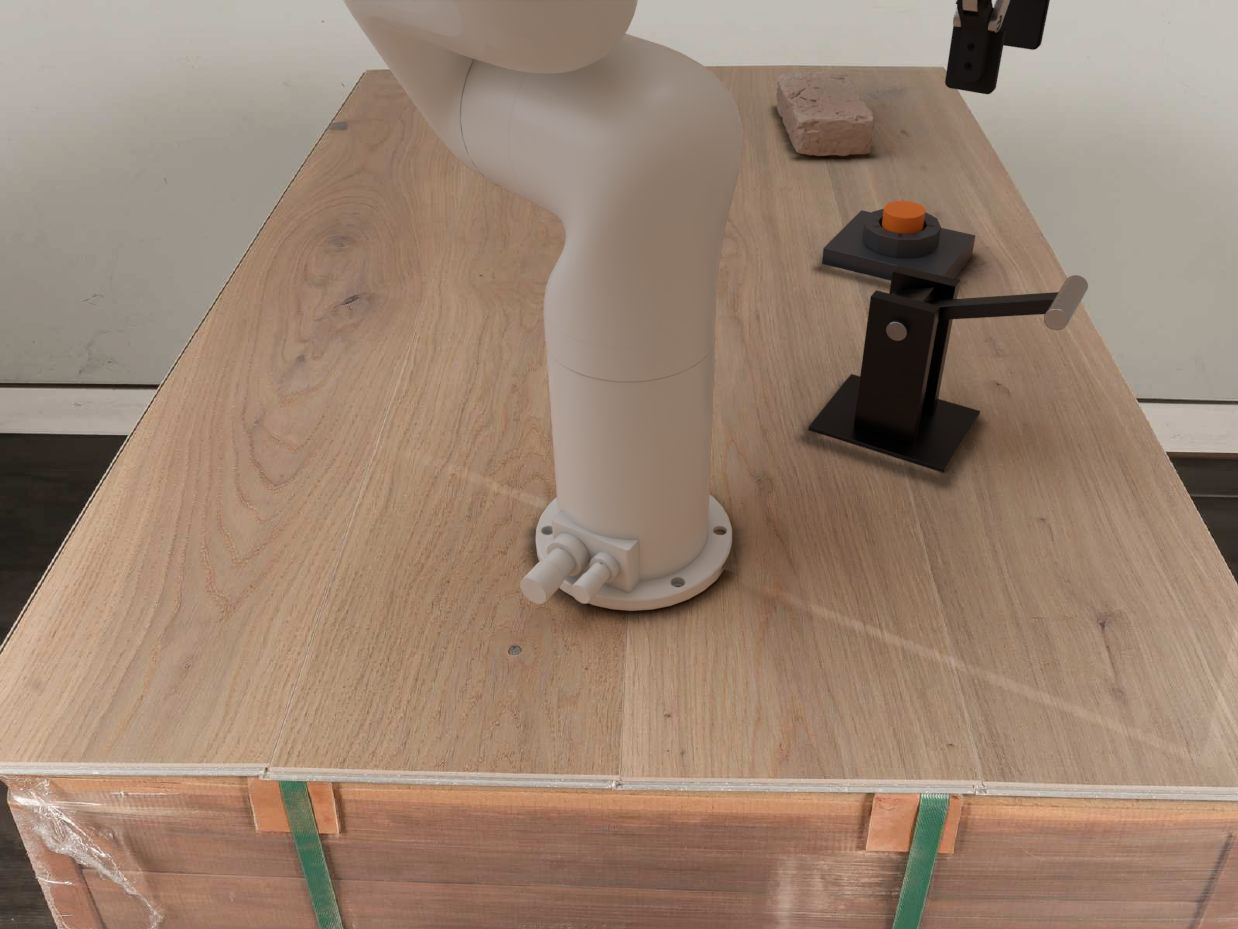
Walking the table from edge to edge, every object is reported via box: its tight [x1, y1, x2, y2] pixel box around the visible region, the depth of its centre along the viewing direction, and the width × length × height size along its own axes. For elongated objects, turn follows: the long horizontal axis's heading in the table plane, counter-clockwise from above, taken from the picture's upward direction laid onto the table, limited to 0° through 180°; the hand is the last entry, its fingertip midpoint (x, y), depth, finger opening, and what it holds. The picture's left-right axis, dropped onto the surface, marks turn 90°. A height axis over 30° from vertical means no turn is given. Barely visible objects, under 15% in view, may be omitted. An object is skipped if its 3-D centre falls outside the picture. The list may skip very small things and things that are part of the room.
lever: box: [892, 274, 1089, 331], centre depth 72 cm, size 12×5×2 cm, turn 58°
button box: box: [821, 208, 976, 282], centre depth 100 cm, size 11×9×4 cm
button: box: [882, 200, 927, 234], centre depth 99 cm, size 4×4×2 cm
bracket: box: [807, 266, 981, 473], centre depth 78 cm, size 10×8×12 cm
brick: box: [776, 70, 875, 157], centre depth 126 cm, size 17×8×5 cm, turn 2°
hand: (993, 66), depth 76 cm, fingers open, 9 cm apart
